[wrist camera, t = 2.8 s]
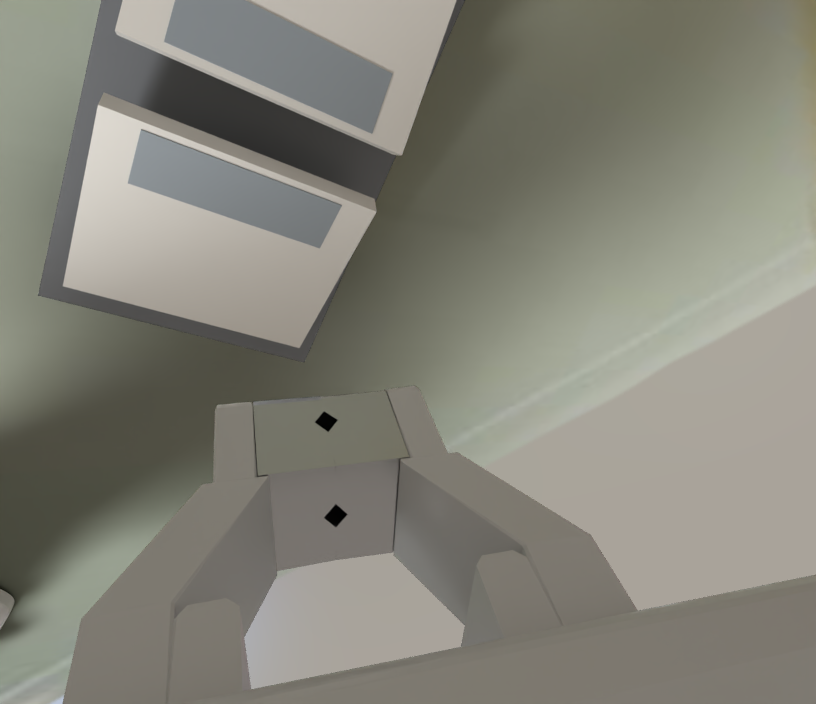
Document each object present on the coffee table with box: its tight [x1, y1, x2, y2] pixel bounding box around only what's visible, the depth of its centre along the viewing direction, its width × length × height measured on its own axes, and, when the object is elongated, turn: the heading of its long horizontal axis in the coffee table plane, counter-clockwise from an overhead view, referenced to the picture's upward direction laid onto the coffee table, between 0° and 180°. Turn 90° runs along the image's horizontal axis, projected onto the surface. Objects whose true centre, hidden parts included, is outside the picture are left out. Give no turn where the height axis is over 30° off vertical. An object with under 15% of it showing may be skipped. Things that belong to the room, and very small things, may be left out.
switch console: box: [38, 0, 465, 362], centre depth 28 cm, size 23×13×7 cm, turn 154°
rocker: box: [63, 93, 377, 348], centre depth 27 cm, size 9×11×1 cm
